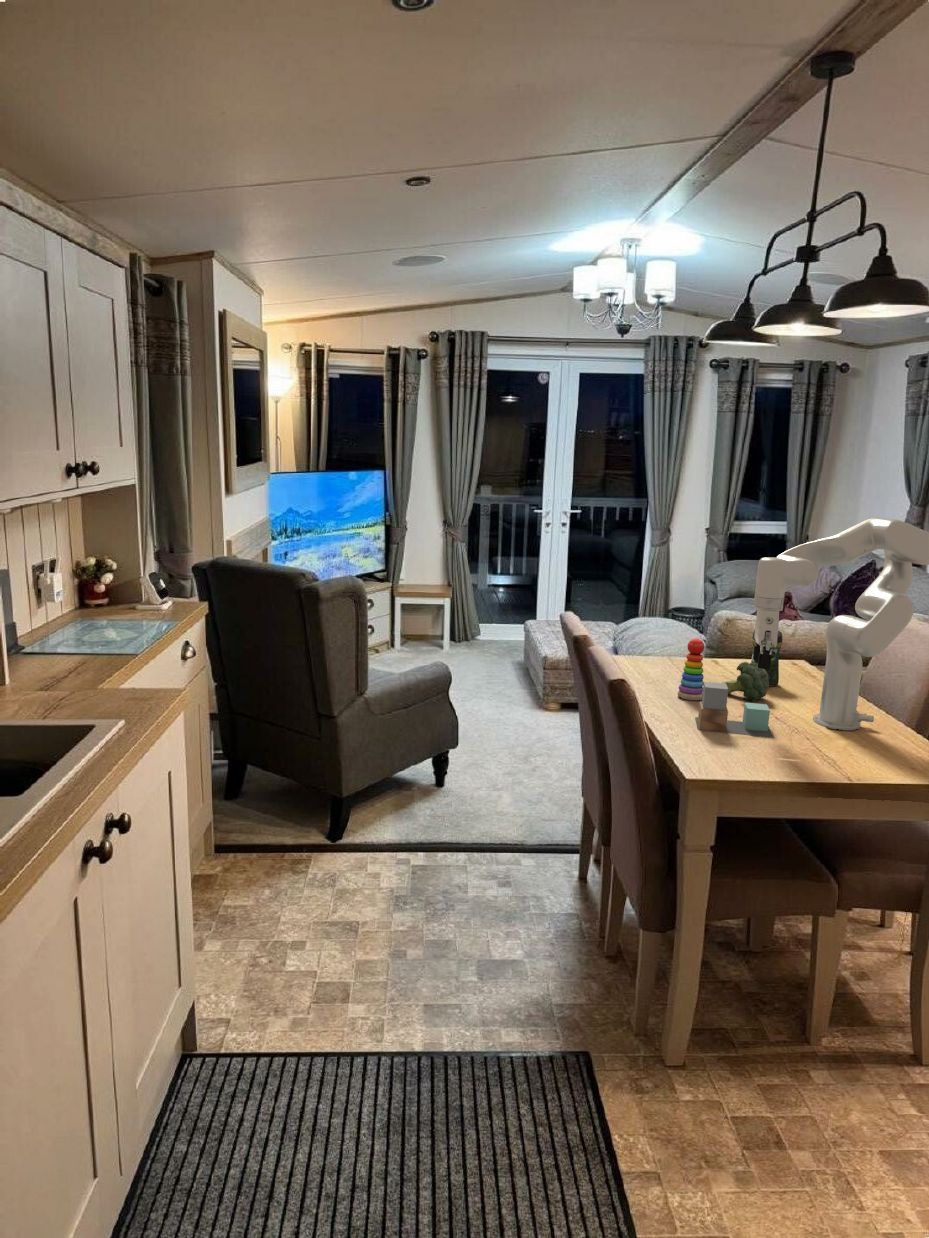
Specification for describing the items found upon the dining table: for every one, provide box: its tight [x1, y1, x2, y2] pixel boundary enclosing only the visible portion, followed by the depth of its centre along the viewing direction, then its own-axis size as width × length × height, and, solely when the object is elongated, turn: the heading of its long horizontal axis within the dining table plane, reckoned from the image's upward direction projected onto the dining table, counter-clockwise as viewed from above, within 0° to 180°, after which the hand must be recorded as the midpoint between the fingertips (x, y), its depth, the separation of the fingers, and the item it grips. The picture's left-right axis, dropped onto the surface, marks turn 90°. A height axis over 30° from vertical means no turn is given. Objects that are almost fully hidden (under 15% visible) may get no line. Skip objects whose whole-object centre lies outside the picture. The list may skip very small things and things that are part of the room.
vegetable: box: [721, 661, 770, 702], centre depth 270 cm, size 12×13×15 cm
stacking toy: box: [677, 638, 705, 701], centre depth 266 cm, size 8×8×19 cm
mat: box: [694, 716, 775, 739], centre depth 239 cm, size 20×12×1 cm, turn 79°
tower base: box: [698, 701, 729, 733], centre depth 237 cm, size 7×7×6 cm
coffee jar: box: [750, 629, 783, 687], centre depth 286 cm, size 10×8×19 cm
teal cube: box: [741, 702, 771, 732], centre depth 239 cm, size 6×6×6 cm
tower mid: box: [701, 681, 729, 710], centre depth 236 cm, size 6×6×6 cm
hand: (761, 664), depth 236 cm, fingers open, 9 cm apart
